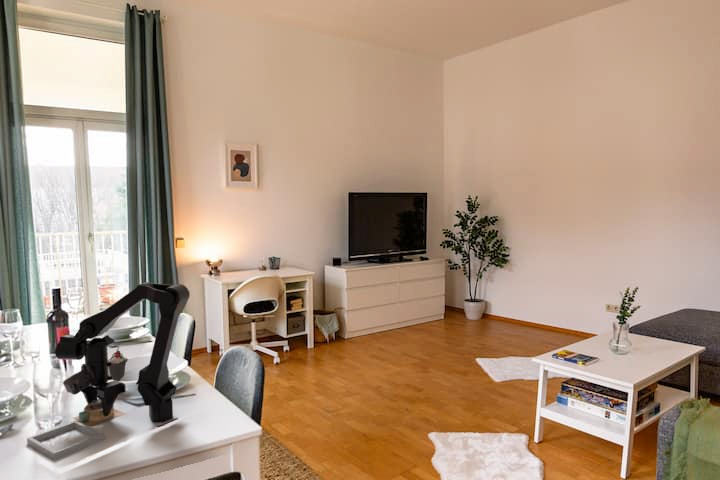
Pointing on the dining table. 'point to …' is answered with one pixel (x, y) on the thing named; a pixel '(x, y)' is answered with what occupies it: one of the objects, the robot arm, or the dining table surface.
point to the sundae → (117, 365)
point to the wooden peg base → (98, 405)
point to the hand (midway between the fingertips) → (99, 413)
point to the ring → (94, 414)
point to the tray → (54, 454)
